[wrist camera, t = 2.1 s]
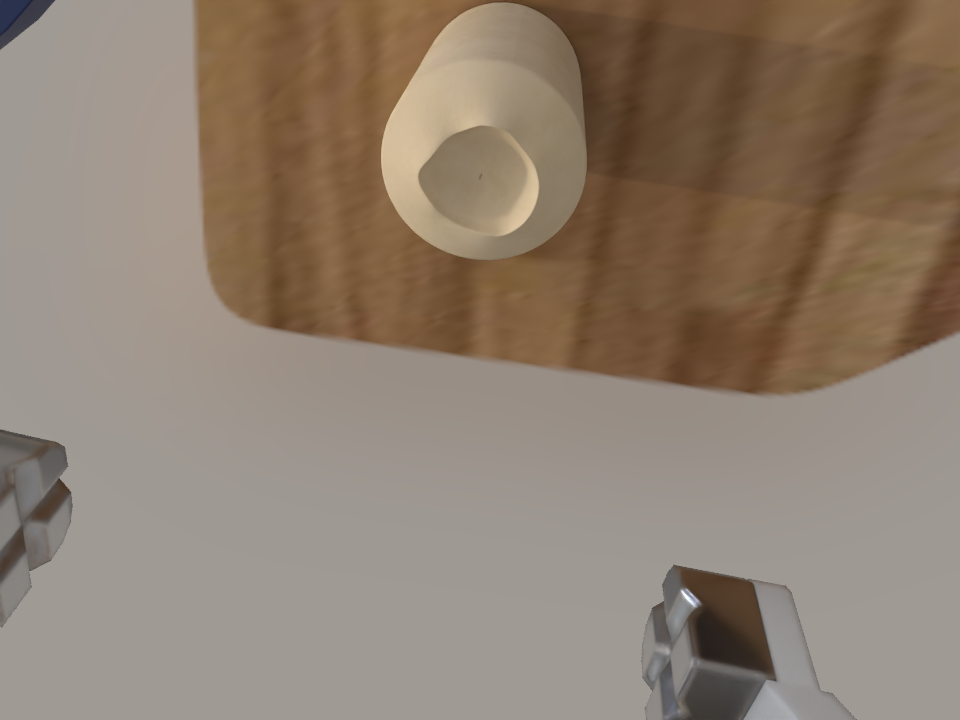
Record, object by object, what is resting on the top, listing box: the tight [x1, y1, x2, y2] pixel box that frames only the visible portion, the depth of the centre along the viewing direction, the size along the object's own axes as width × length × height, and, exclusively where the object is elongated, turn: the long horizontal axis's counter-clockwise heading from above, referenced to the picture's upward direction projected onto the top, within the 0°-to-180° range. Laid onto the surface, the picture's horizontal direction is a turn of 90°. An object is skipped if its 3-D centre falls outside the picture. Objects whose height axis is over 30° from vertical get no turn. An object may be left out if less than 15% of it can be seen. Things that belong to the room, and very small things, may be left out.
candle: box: [381, 2, 587, 260], centre depth 25 cm, size 6×6×10 cm
